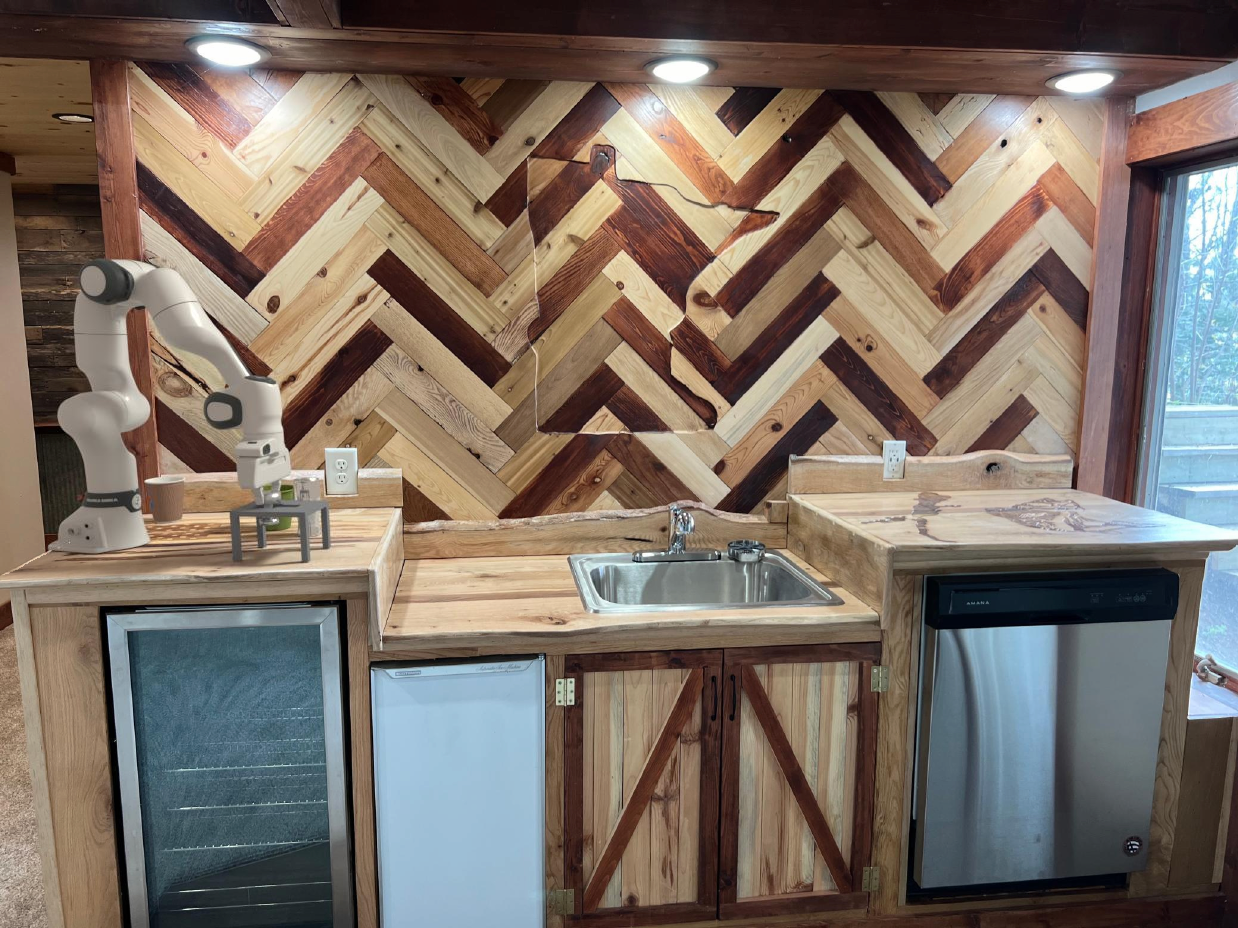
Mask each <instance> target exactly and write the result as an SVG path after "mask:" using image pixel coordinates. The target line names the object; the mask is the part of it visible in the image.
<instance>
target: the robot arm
mask: <svg viewBox="0 0 1238 928" xmlns="http://www.w3.org/2000/svg"><path fill="white" fill-rule="evenodd" d="M77 281H78V285H79V289H80V292H79V293H78V294H77V296H76V297H75V299H76V300H75V305H74V312H73V313H74V314H73V330H74V332H73V333H74V334H73V335H74V347H75V361H76V362H75V363H76V366H77V367H78V369H79V370H80V371H81V372H83V373H84V374H85V376H86V378H87V380H88V382H89V384H90V387H91V391H89V392H81V393H79V394H76V395H73V396H72V397H70V398H67V399H65V400H64V401H62V402H61V403H60V405H59V407H58V410H57V421H58V424H59V426H60V428H61V429H62V430H63V431H64V432H65V433H66V434H67V435H69V436H70V437H71V438H72V439H73V441H74V442H75V443H76V445H77V448H78V449H79V452H80V454H81V457H82V460H83V465H84V470H85V471H84V473H85V478H86V479H85V481H86V488H87V490H86V491H85V492H84V493H82V494H78V495H76V497H78V498H77V501H80V500H82V502H81V506H80V507H79V508H78V509H77V510H76V511H74V512H73V513H71V515H68V517H66V518H65V519H64V520H62V522H61V523H60V524H59V527H58V534H57V537H58V538H57V540H55V541H53V542H51V543H50V544H48V546H47V550H48V551H58V552H70V553H71V552H72V553H83V554H84V553H85V554H100V553H105V552H112V551H118V550H124V549H125V550H126V549H130V548H135V547H141V546H143V545H146V544H148V543H150V542H151V537H150V536H149V533H148V530H147V527H146V525H145V520H144V517H143V511H142V505H143V503H142V500H143V498H142V491H141V487H140V486H139V479H138V478H139V477H138V467H137V459H136V456H135V455H134V454H133V453H132V452H130V451H129V450H128V448H127V447H126V445H125V442H124V441H123V439H122V438H123V437H122V434H121V433H126V432H131V431H134V429H137V428H139V427H141V426H143V425H144V424H145V423H146V422H147V421H149V418H150V415H151V406H150V403H149V401H148V399H147V397H146V396H145V395H143V393H141V392H140V390H139V389H138V387H137V384H136V381H135V379H134V376H133V373H132V370H131V364H130V357H129V345H128V333H127V332H128V331H127V315H128V313H129V312H130V311H131V310H132V309H134V310H136V311H141V310H144V309H146V310H147V312H148V314H149V315H150V318H151V320H152V321H153V324H154V325H155V327H156V328H157V329H156V330H157V331H158V333H159V334H160V335H161V337H162V338H163V339H164V340H165V341H166V343H168V344H169V346H172V347H173V348H175V349H178V350H180V351H184V352H188V353H191V354H193V355H196V356H198V357H200V358H202V359H205V360H206V361H208V362H209V363H210V364H212V365H213V367H214V368H215V369H216V370H217V371H218V373H219V374H220V376H221V377H222V378H223V380H224V381H225V383H226V385H227V386H228V387H226V388H223V389H219V390H216V391H213V392H211V393H209V394H208V395H207V397H206V398H205V400H204V403H203V407H202V408H203V415H204V416H203V417H204V418H205V420H206V422H207V423H208V425H210V426H211V427H212V428H214V429H216V430H221V431H231V430H240V429H242V433H243V437H242V438H241V440H240V442H239V443H238V444H237V445H235V447H234V449H233V452H234V456H235V457H237V460H236V476H237V482H238V483H237V484H238V485H239V487H240V489H242V490H251V489H252V491H251V492H252V494H253V498H254V497H255V502H256V504H257V505H262V504H264V503H265V502H266V501H265V496H263V492H262V490H263V486H264V485H272V486H271V490H275V491H279V490H280V486H281V484H282V480H283V479H284V478H287V477H289V476H291V473H292V466H291V459H290V452H289V449H288V448H287V447H286V444H285V437H284V436H285V435H284V427H283V425H282V417H283V404H282V396H281V390H280V387H279V384H278V382H277V381H276V380H274V379H273V378H271V377H269V376H262V375H253V374H252V373H251V371H250V370H249V368H248V367H247V365H246V364H245V362H244V360H243V359H242V358H241V356H240V355H239V353H238V352H237V351H236V349H235V348H234V346H233V345H232V343H231V342H230V340H229V339H228V338H227V337H226V336H225V335H224V333H222V332H221V331H220V330H219V329H218V328H217V326H216V325H215V324H214V323H213V322H212V320H211V319H210V318H209V316H208V314H207V313H206V312H205V310H204V309H203V307H202V305H201V303H200V302H199V300H198V298H197V296H196V295H195V293H194V292H193V290H192V289H191V287H190V286H189V285H188V283H187V282H186V281H185V279H184V278H183V277H182V275H181V274H180V273H178V272H177V271H176V270H175V269H172V268H169V267H160V266H158V265H157V264H155V263H152V262H146V261H145V262H143V261H139V260H134V259H129V258H128V259H127V258H125V259H108V258H96V259H92V260H89V261H87V262H86V263H84V264H83V265H82V267H80V270H79V272H78V280H77ZM69 542H70V543H69ZM58 547H60V548H59V549H58Z"/></svg>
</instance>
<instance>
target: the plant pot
mask: <svg viewBox="0 0 1238 928" xmlns="http://www.w3.org/2000/svg"><path fill="white" fill-rule="evenodd" d="M271 486H272V484H267V485H264V486H263V490H262V491H269V490H271ZM250 491H251V492H252V489H250ZM279 491H281V500H293V484H285V483H281V486H280V490H279ZM278 518H279V524H276V525H270V526H265V528H266V531H269V530H271V531H274V530H277V531H283V530H287V528H288V529H289V528H291V526H292V519H293V517H278Z"/></svg>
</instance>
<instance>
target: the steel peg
mask: <svg viewBox="0 0 1238 928" xmlns="http://www.w3.org/2000/svg"><path fill="white" fill-rule="evenodd" d="M262 492H263V496H265V501H266V502H265V503H264V504H262V505H264V508H273V504H278V503H281V491H275V490H269V491H262ZM253 500H254V501H253V502H254V503H255V504H256V502H255V497H254V496H253ZM256 505H257V504H256ZM259 524H260V525H262V526H270V525H276V524H279V518H278V517H264V518H260V519H259Z"/></svg>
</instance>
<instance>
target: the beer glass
mask: <svg viewBox="0 0 1238 928" xmlns="http://www.w3.org/2000/svg"><path fill="white" fill-rule="evenodd" d="M292 485H293V500H322V490H321V483H320V478H319V477H316V476H315V477H314V476H306V477H297V478H294V479H292ZM320 514H321V510H319V511H317V512H315V513H313V514H311V515H309V516H308V524H309V538H313V536H314V537H317V536H320V535H322V528H321V527H320ZM296 518H297V533H296V535H297V537H299V536H300V525H299V517H296Z"/></svg>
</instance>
